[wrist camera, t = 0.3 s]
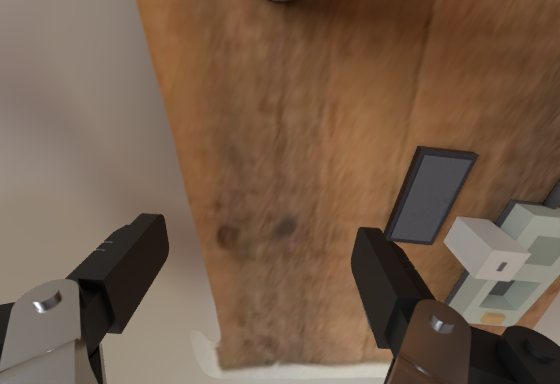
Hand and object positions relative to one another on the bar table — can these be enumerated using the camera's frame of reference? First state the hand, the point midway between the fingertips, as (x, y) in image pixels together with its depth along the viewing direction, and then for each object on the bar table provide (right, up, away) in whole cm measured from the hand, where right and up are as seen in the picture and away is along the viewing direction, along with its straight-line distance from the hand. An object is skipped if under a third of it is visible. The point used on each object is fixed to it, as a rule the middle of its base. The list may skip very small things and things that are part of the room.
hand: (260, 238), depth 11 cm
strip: (+31, -5, +22) cm, 38 cm away
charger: (+24, -3, +21) cm, 32 cm away
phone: (+17, +1, +19) cm, 26 cm away
